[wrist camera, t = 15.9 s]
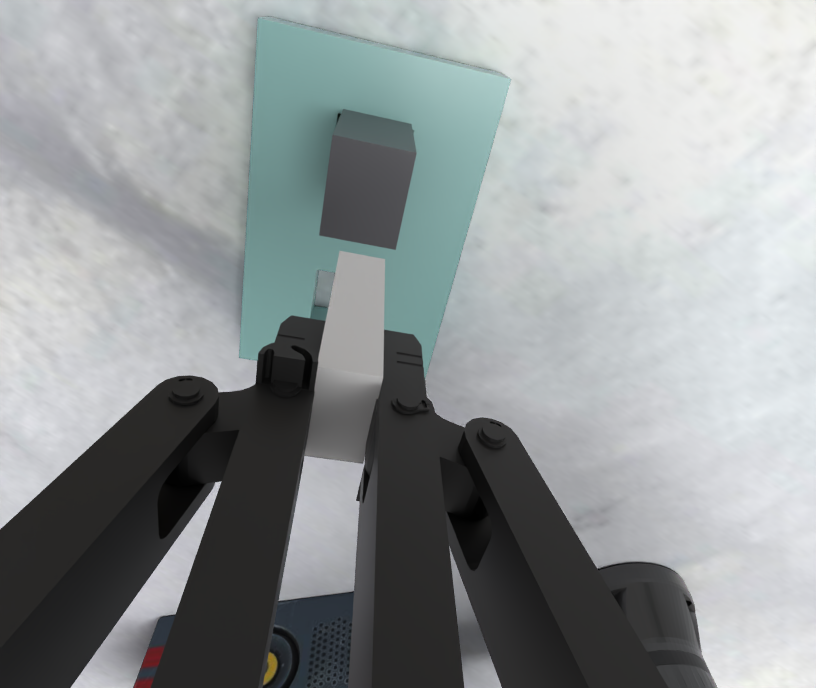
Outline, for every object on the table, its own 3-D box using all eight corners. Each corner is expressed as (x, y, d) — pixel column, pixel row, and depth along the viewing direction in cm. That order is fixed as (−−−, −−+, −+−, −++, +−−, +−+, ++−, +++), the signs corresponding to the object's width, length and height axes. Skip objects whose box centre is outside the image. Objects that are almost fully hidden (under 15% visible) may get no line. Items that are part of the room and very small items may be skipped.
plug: (394, 193, 36) (395, 249, 28) (335, 180, 36) (318, 235, 27) (409, 115, 34) (416, 152, 25) (346, 100, 33) (332, 134, 25)
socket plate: (420, 364, 44) (423, 386, 42) (248, 336, 42) (238, 357, 40) (501, 73, 33) (511, 79, 30) (268, 16, 31) (257, 17, 28)
